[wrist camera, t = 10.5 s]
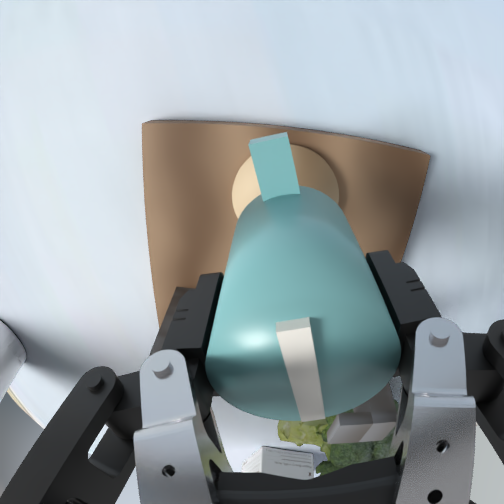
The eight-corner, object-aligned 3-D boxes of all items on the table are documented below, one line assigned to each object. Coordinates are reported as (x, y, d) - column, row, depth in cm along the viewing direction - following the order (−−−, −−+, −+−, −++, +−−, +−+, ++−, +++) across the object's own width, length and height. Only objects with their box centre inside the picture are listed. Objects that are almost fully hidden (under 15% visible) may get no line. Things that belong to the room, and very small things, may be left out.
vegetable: (252, 393, 28) (406, 418, 19) (311, 364, 38) (425, 372, 29) (253, 485, 27) (382, 520, 18) (308, 442, 37) (411, 458, 28)
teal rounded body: (205, 151, 12) (126, 241, 5) (333, 123, 11) (414, 183, 4) (260, 326, 16) (252, 456, 10) (355, 309, 15) (387, 437, 9)
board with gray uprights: (165, 328, 27) (126, 443, 17) (150, 120, 18) (27, 175, 8) (359, 344, 27) (385, 459, 17) (420, 150, 18) (540, 230, 8)
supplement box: (315, 452, 40) (318, 536, 27) (288, 469, 45) (287, 542, 32) (261, 444, 39) (256, 536, 26) (240, 461, 43) (233, 539, 30)
